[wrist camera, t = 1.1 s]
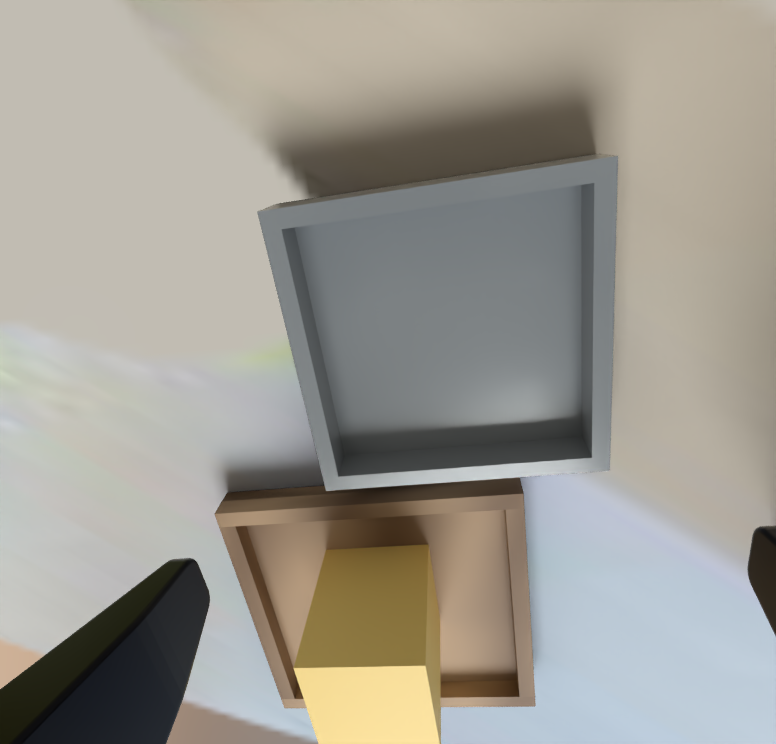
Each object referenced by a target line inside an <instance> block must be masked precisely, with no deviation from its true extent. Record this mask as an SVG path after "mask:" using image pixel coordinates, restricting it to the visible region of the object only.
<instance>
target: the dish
mask: <svg viewBox="0 0 776 744" xmlns="http://www.w3.org/2000/svg"><path fill="white" fill-rule="evenodd" d="M617 174H618V156H614V155H603V154H593V155H587V156H581V157H574V158H568V159H561V160H555V161H549V162H542V163H536V164H529V165H523V166H516V167H510V168H504V169H497V170H491V171H484V172H478V173H472V174H465V175H459V176H452V177H446V178H440V179H433V180H427V181H420V182H414V183H408V184H401V185H395V186H388V187H382V188H376V189H369V190H363V191H356V192H350V193H344V194H337V195H331V196H324V197H318V198H312V199H305V200H299V201H292V202H286V203H280V204H276V205H273V206H270V207H268V208H265V209H263V210H260V211H258V216H259V220H260V225H261V229H262V233H263V237H264V241H265V245H266V249H267V253H268V257H269V261H270V265H271V269H272V273H273V277H274V282H275V286H276V289H277V294H278V298H279V302H280V306H281V310H282V314H283V318H284V322H285V326H286V330H287V334H288V339H289V343H290V347H291V351H292V355H293V359H294V363H295V367H296V371H297V375H298V379H299V383H300V387H301V391H302V395H303V400H304V404H305V408H306V412H307V416H308V420H309V424H310V428H311V432H312V436H313V440H314V444H315V448H316V452H317V456H318V461H319V465H320V469H321V473H322V477H323V481H324V485H325V489H326V491H332V490H346V489H360V488H375V487H389V486H403V485H417V484H432V483H446V482H460V481H474V480H488V479H503V478H517V477H531V476H545V475H559V474H574V473H588V472H602V471H610V444H611V406H612V367H613V329H614V290H615V251H616V213H617Z"/></svg>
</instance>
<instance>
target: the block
mask: <svg viewBox="0 0 776 744" xmlns="http://www.w3.org/2000/svg"><path fill="white" fill-rule="evenodd" d="M294 671H295V674H296V677H297V680H298V683H299V686H300V689H301V692H302V695H303V698H304V701H305V704H306V707H307V710H308V713H309V716H310V719H311V722H312V725H313V728H314V731H315V734H316V737H317V740H318V743H319V744H441V683H440V615H439V609H438V602H437V596H436V589H435V583H434V576H433V570H432V564H431V557H430V551H429V544H428V545H409V546H390V547H371V548H352V549H334V550H326V551H325V555H324V559H323V562H322V566H321V570H320V573H319V577H318V580H317V584H316V588H315V591H314V595H313V599H312V602H311V606H310V610H309V613H308V617H307V621H306V624H305V628H304V632H303V635H302V639H301V642H300V646H299V650H298V653H297V657H296V661H295V664H294Z"/></svg>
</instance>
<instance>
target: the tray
mask: <svg viewBox="0 0 776 744" xmlns="http://www.w3.org/2000/svg"><path fill="white" fill-rule="evenodd" d="M215 517H216V519H217V522H218V525H219V528H220V530H221V533H222V536H223V539H224V541H225V544H226V547H227V550H228V553H229V555H230V558H231V561H232V564H233V566H234V569H235V572H236V575H237V578H238V580H239V583H240V586H241V589H242V591H243V594H244V597H245V600H246V602H247V605H248V608H249V611H250V614H251V616H252V619H253V622H254V625H255V627H256V630H257V633H258V636H259V639H260V641H261V644H262V647H263V650H264V652H265V655H266V658H267V661H268V664H269V666H270V669H271V672H272V675H273V677H274V680H275V683H276V686H277V688H278V691H279V694H280V697H281V700H282V702H283V705H284V708H307V707H306V704H305V701H304V698H303V695H302V692H301V689H300V686H299V683H298V680H297V677H296V674H295V671H294V664H295V661H296V657H297V653H298V650H299V646H300V642H301V639H302V635H303V632H304V628H305V624H306V621H307V617H308V613H309V610H310V606H311V602H312V599H313V595H314V591H315V588H316V584H317V580H318V577H319V573H320V570H321V566H322V562H323V559H324V555H325V551H326V550H334V549H352V548H371V547H390V546H409V545H428V544H429V551H430V557H431V564H432V570H433V576H434V583H435V589H436V596H437V602H438V609H439V615H440V683H441V707H524V706H535V689H534V671H533V654H532V636H531V618H530V601H529V583H528V565H527V547H526V530H525V512H524V494H523V490H522V486H521V481H520V477H517V478H503V479H488V480H474V481H460V482H446V483H432V484H417V485H403V486H389V487H375V488H360V489H346V490H332V491H326V489H325V486H312V487H298V488H284V489H271V490H257V491H243V492H229V493H227V494H226V496H225V497H224V499H223V501H222V502H221V504H220V506H219V507H218V509H217V511H216V512H215Z"/></svg>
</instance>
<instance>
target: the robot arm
mask: <svg viewBox="0 0 776 744" xmlns="http://www.w3.org/2000/svg"><path fill="white" fill-rule="evenodd" d="M748 576H749V580H750V583H751V585H752V588H753V590H754V592H755V594H756V596H757V598H758V600H759V602H760V604H761V606H762V609H763V611H764V613H765V615H766V617H767V619H768V621H769V623H770V625H771V627H772V629H773V632H774V634H775V636H776V526H762V527H758V528H757V529H756V530H755V531H754V533H753V537H752V543H751V549H750V556H749V562H748ZM209 603H210V595H209V590H208V588H207V585H206V583H205V580H204V578H203V575H202V573H201V570H200V568H199V565H198V563H197V562H196V561H195V560H194V559H191V558H184V559H173V560H170V561H168V562H167V563H165V564H164V565H163V566H161V567H160V568H159V569H157V570H156V571H155V572H153V573H152V574H151V575H149V576H148V577H147V578H146V579H144V580H143V581H142V582H140V583H139V584H138V585H136V586H135V587H134V588H132V589H131V590H130V591H129V592H127V593H126V594H125V595H123V596H122V597H121V598H119V599H118V600H117V601H115V602H114V603H113V604H111V605H110V606H109V607H108V608H106V609H105V610H104V611H102V612H101V613H100V614H98V615H97V616H96V617H94V618H93V619H92V620H91V621H89V622H88V623H87V624H85V625H84V626H83V627H81V628H80V629H79V630H77V631H76V632H75V633H73V634H72V635H71V636H70V637H68V638H67V639H66V640H64V641H63V642H62V643H60V644H59V645H58V646H56V647H55V648H54V649H53V650H51V651H50V652H49V653H47V654H46V655H45V656H43V657H42V658H41V659H40V660H38V661H37V662H35V663H34V664H33V665H32V666H31V667H29V668H28V669H27V670H25V671H24V672H22V673H21V674H20V675H19V676H17V677H16V678H15V679H13V680H12V681H11V682H9V683H8V684H7V685H6V686H4V687H3V688H1V689H0V744H166V742H167V740H168V737H169V735H170V732H171V729H172V726H173V724H174V721H175V719H176V716H177V713H178V711H179V708H180V705H181V702H182V700H183V697H184V694H185V690H186V687H187V684H188V681H189V677H190V673H191V670H192V666H193V662H194V659H195V655H196V652H197V648H198V644H199V641H200V637H201V634H202V630H203V626H204V623H205V619H206V616H207V612H208V608H209Z"/></svg>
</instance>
